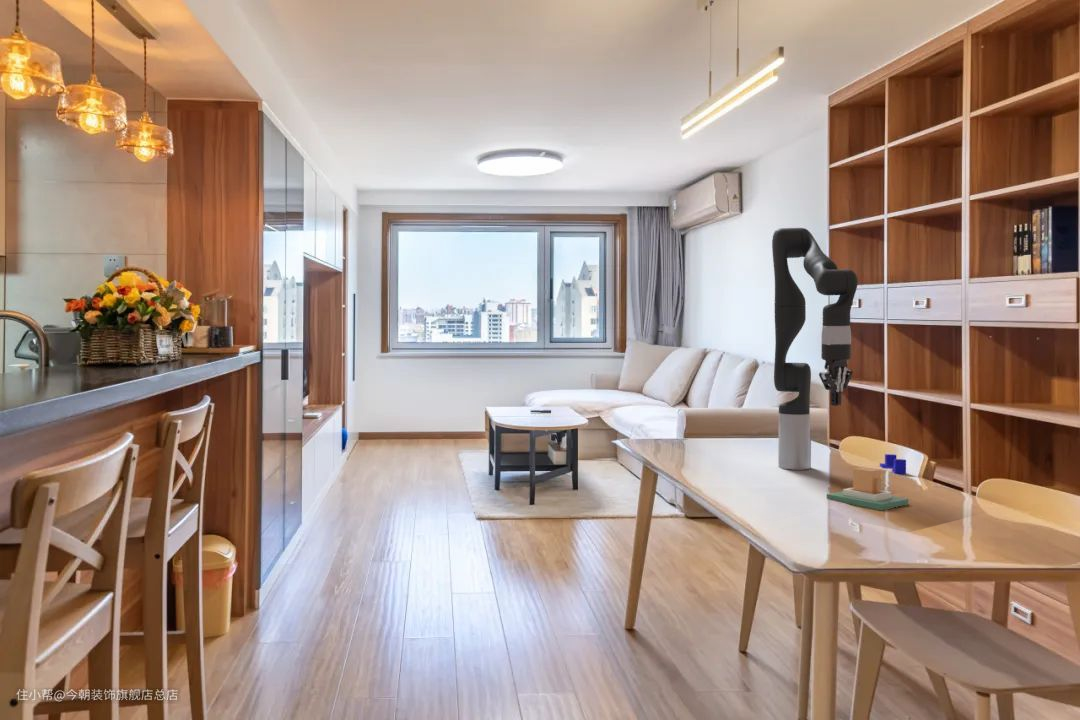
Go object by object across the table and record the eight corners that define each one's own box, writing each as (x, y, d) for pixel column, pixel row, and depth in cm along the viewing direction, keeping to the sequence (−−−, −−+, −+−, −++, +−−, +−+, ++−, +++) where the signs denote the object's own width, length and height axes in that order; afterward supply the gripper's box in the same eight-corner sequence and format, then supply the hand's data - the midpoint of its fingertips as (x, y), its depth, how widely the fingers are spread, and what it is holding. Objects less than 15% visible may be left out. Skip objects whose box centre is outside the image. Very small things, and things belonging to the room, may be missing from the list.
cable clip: (879, 472, 230) (879, 454, 230) (894, 473, 229) (895, 454, 229) (889, 479, 218) (890, 459, 218) (905, 479, 217) (906, 460, 217)
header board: (853, 494, 193) (853, 483, 193) (908, 504, 181) (908, 492, 181) (826, 499, 186) (826, 488, 186) (881, 510, 174) (881, 498, 174)
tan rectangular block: (861, 494, 187) (862, 467, 187) (883, 497, 182) (883, 470, 182) (853, 495, 184) (853, 468, 184) (874, 499, 180) (874, 471, 180)
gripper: (837, 341, 203) (837, 402, 204) (809, 343, 196) (809, 406, 196) (862, 342, 197) (862, 404, 198) (834, 343, 189) (834, 408, 190)
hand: (835, 405), depth 197 cm, fingers closed
